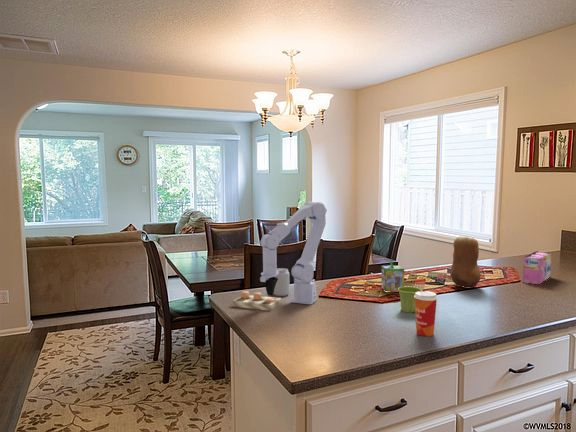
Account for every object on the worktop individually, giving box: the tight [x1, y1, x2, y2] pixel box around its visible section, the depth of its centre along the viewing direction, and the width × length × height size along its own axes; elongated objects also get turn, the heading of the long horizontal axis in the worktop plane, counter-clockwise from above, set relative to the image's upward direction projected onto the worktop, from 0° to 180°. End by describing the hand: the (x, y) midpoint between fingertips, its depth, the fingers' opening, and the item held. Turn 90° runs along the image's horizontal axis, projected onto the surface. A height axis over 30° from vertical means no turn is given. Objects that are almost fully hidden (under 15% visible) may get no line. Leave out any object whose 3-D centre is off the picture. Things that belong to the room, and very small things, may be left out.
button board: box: [232, 294, 283, 312], centre depth 180 cm, size 18×11×3 cm, turn 68°
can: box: [273, 267, 290, 297], centre depth 196 cm, size 8×8×12 cm
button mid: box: [252, 291, 262, 301], centre depth 180 cm, size 3×3×3 cm
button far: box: [240, 290, 250, 300], centre depth 182 cm, size 3×3×3 cm
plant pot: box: [398, 286, 423, 313], centre depth 171 cm, size 9×9×9 cm
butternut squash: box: [449, 236, 482, 288], centre depth 206 cm, size 14×13×25 cm
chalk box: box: [380, 259, 405, 291], centre depth 201 cm, size 9×9×15 cm
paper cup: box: [414, 290, 438, 337], centre depth 145 cm, size 8×8×14 cm
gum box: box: [522, 251, 552, 285], centre depth 221 cm, size 24×8×14 cm, turn 136°
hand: (270, 295), depth 178 cm, fingers closed
